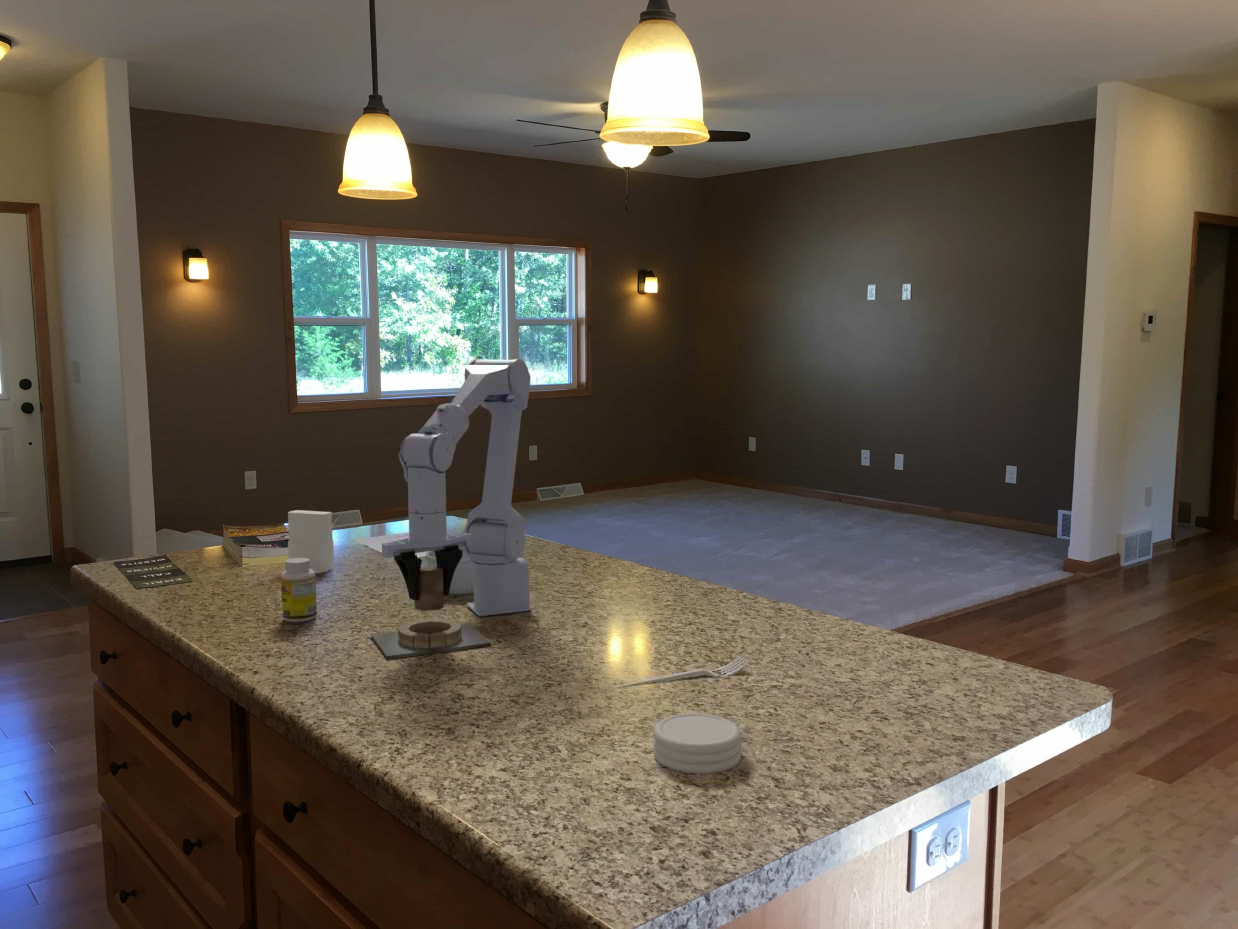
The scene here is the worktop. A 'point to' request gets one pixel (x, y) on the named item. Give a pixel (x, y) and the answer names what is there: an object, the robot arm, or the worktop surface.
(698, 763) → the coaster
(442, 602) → the walnut peg
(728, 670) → the fork
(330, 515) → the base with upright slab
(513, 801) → the worktop surface
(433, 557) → the ramekin
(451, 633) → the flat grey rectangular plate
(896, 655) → the worktop surface
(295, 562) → the supplement bottle
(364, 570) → the worktop surface
